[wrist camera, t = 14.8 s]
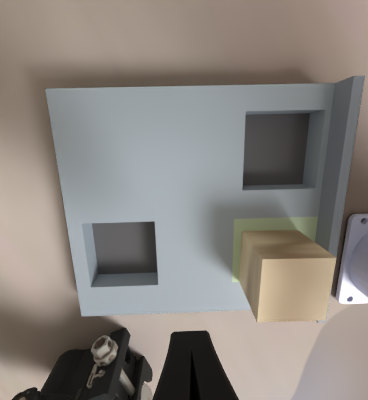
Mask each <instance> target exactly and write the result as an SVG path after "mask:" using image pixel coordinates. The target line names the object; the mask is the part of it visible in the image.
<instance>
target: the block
mask: <svg viewBox="0 0 368 400" xmlns="http://www.w3.org/2000/svg"><path fill="white" fill-rule="evenodd" d="M335 264H336V257H335V256H333V255H332V254H330V253H329V252H328V251H326V250H325V249H324V248H322V247H321V246H319V245H318V244H317V243H315V242H314V241H313V240H311V239H310V238H308V237H307V236H306V235H304V234H303V233H301V232H300V231H299V230H268V231H242V237H241V254H240V271H239V282H240V285H241V287H242V289H243V291H244V294H245V296H246V298H247V300H248V303H249V305H250V307H251V310H252V312H253V314H254V316H255V319H256V321H257V322H285V321H323V320H326V315H327V310H328V304H329V298H330V292H331V287H332V281H333V275H334V269H335Z"/></svg>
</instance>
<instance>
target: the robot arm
mask: <svg viewBox="0 0 368 400" xmlns="http://www.w3.org/2000/svg"><path fill="white" fill-rule="evenodd" d="M362 219H364V220H363V221H362V222H361V220H362ZM348 297H349V298H348ZM336 300H337V301H338V302H339V303H341V304H355V303H368V214H353V215H351V216H350V217H349V219H348V225H347V231H346V237H345V243H344V249H343V255H342V261H341V267H340V273H339V279H338V286H337V292H336ZM152 400H239V399H238V397H237V395H236V393H235V391H234V389H233V387H232V385H231V383H230V381H229V379H228V378H227V376H226V373H225V371H224V369H223V367H222V365H221V363H220V361H219V358H218V356H217V354H216V351H215V349H214V346H213V344H212V341H211V338H210V335H209V333H208V332H207V331H183V332H173V333H172V334H171V338H170V344H169V349H168V353H167V357H166V360H165V363H164V367H163V370H162V373H161V376H160V379H159V382H158V385H157V388H156V391H155V394H154V396H153V399H152Z"/></svg>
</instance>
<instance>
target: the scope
mask: <svg viewBox="0 0 368 400" xmlns="http://www.w3.org/2000/svg"><path fill="white" fill-rule="evenodd" d="M129 339H130V334H129V332H128V330H127V329H126V328H123V329H120V330H117V331H115V332H112V333H111V334H110V336H106V335H104V336H102V337H100V338H98V339H97V340H96V341H95V342H94V343H93V345H92V348H90V349H87V350H77V349H76V350H70V351H67V352H65V353H63V354H62V355H61V356H60V357H59V359H58V361H57V362H56V364H55V366H54V368H53V370H52V371H51V373H50V375H49V377H48V379H47V380H46V382H45V384H44V386H43V388H42V389H41V391H37V388H35V387H33V388H30V389H27V390H25V391H23V392H20V393H19V394H17V395H16V396H15V397H14V398H13V399H12V400H152V399H153V395H152V392H151V389H150V388H149V386H148V385H147V384H145V383H144V381H146V382H150V381H152V375H153V374H152V369H151V367H150V365H149V364H148V362H147V360H146V359H145V357H144V356H143V357H141V360H140V361H137V362H136V358H135V356H134V355H133V353H132V351H131V350H130V348H129V347H128V343H129ZM143 383H144V384H143Z"/></svg>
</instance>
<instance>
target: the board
mask: <svg viewBox="0 0 368 400" xmlns="http://www.w3.org/2000/svg"><path fill="white" fill-rule="evenodd" d="M364 78H365V76H352V77H350V78H347V79H345V80H342V81H339V82H337V83H314V84H261V85H209V86H156V87H103V88H51V89H45V91H46V97H47V103H48V110H49V116H50V122H51V128H52V135H53V141H54V147H55V153H56V160H57V166H58V172H59V179H60V185H61V191H62V197H63V204H64V210H65V216H66V222H67V229H68V235H69V241H70V247H71V254H72V260H73V266H74V272H75V279H76V285H77V291H78V297H79V304H80V310H81V316H108V315H134V314H160V313H186V312H211V311H237V310H251V307H250V305H249V303H248V300H247V298H246V296H245V294H244V291H243V289H242V287H241V285H240V282H239V271H240V254H241V237H242V231H268V230H299V231H300V232H301V233H303V234H304V235H306V236H307V237H308V238H310V239H311V240H313V241H314V242H315V243H317V244H318V245H319V246H321V247H322V248H324V249H325V250H326V251H328V252H329V253H330V254H332V255H333V256H335V257H336V256H337V250H338V244H339V237H340V231H341V225H342V218H343V212H344V206H345V199H346V193H347V186H348V180H349V174H350V167H351V161H352V155H353V148H354V142H355V136H356V129H357V123H358V116H359V110H360V104H361V97H362V91H363V85H364ZM333 276H334V275H333ZM332 282H333V281H332ZM331 288H332V287H331ZM330 295H331V292H330ZM329 301H330V298H329ZM328 307H329V304H328ZM327 314H328V310H327ZM326 320H327V315H326ZM326 320H323V321H317V322H318V323H323V322H326Z"/></svg>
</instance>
